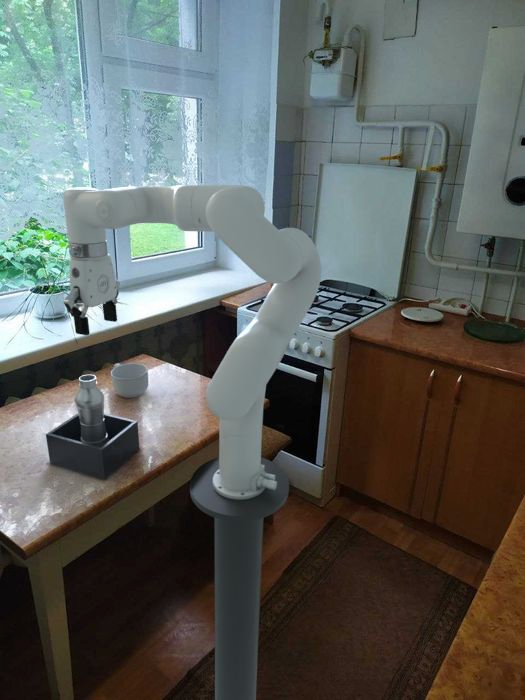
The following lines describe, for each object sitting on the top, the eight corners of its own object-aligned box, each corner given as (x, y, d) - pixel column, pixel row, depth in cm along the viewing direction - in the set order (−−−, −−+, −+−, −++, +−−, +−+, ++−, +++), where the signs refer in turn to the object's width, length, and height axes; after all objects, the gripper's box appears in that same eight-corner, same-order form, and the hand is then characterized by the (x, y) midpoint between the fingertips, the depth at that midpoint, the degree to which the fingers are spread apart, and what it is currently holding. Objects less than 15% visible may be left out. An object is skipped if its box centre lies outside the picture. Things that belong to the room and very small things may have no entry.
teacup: (154, 396, 150) (153, 372, 147) (119, 405, 144) (117, 380, 141) (137, 379, 160) (136, 356, 157) (104, 386, 154) (102, 363, 151)
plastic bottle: (99, 463, 116) (90, 386, 108) (75, 456, 118) (65, 380, 110) (115, 448, 121) (108, 375, 114) (92, 442, 123) (84, 369, 116)
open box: (139, 449, 123) (137, 421, 120) (104, 480, 112) (101, 449, 109) (88, 435, 128) (85, 408, 125) (50, 463, 117) (45, 434, 114)
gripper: (75, 259, 95) (85, 342, 101) (128, 244, 110) (134, 318, 116) (44, 255, 97) (56, 337, 103) (99, 242, 112) (107, 314, 119)
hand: (97, 327), depth 110 cm, fingers open, 9 cm apart
